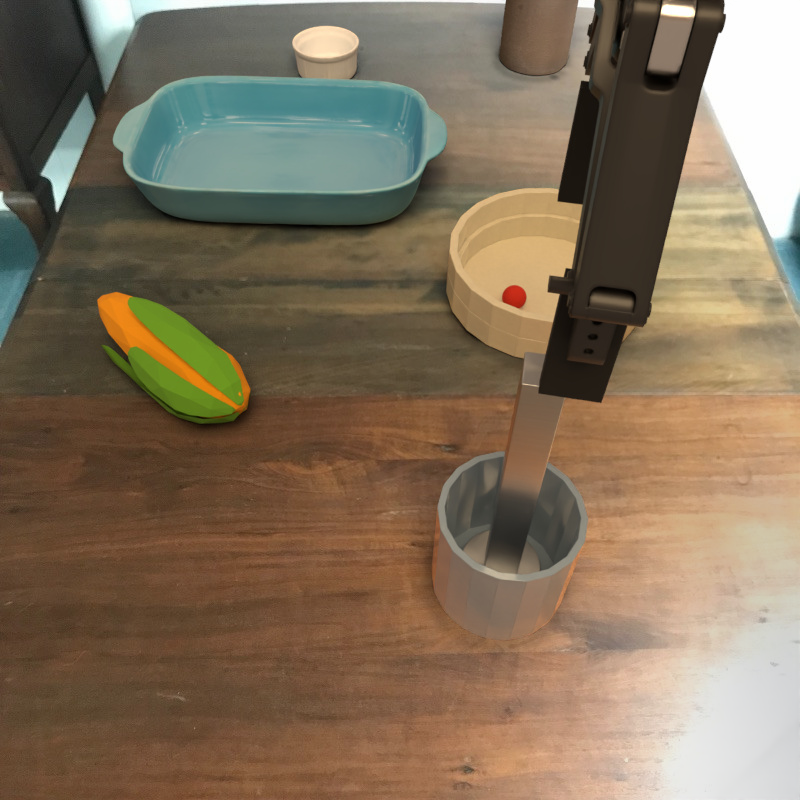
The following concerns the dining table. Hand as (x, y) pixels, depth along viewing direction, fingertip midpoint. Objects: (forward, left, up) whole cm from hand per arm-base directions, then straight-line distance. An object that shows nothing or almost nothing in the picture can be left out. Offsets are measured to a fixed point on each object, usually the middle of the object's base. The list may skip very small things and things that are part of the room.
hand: (576, 286), depth 38 cm
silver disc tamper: (0, +1, -29) cm, 29 cm away
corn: (+33, +13, -30) cm, 46 cm away
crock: (0, +1, -30) cm, 30 cm away
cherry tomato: (+22, -19, -28) cm, 40 cm away
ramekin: (+72, -28, -30) cm, 83 cm away
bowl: (+22, -23, -30) cm, 43 cm away
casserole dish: (+53, -11, -30) cm, 62 cm away
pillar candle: (+59, -54, -30) cm, 85 cm away
